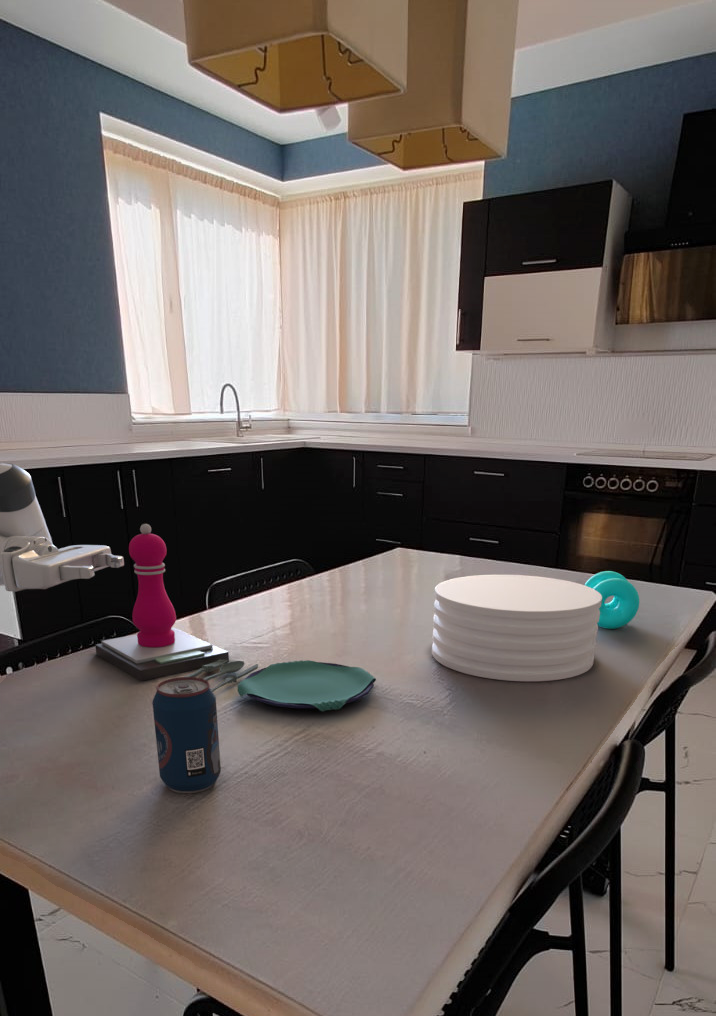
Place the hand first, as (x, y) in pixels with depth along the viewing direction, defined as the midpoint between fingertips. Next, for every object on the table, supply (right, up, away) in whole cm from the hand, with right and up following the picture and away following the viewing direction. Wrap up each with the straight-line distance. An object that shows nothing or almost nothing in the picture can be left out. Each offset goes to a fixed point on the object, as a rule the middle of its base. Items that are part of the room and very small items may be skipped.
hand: (107, 567), depth 129 cm
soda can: (+23, -34, -40) cm, 57 cm away
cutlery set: (+30, -21, -10) cm, 38 cm away
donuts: (+93, -6, +27) cm, 97 cm away
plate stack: (+69, -14, +7) cm, 71 cm away
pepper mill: (+7, -12, +4) cm, 15 cm away
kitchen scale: (+8, -15, +4) cm, 17 cm away
